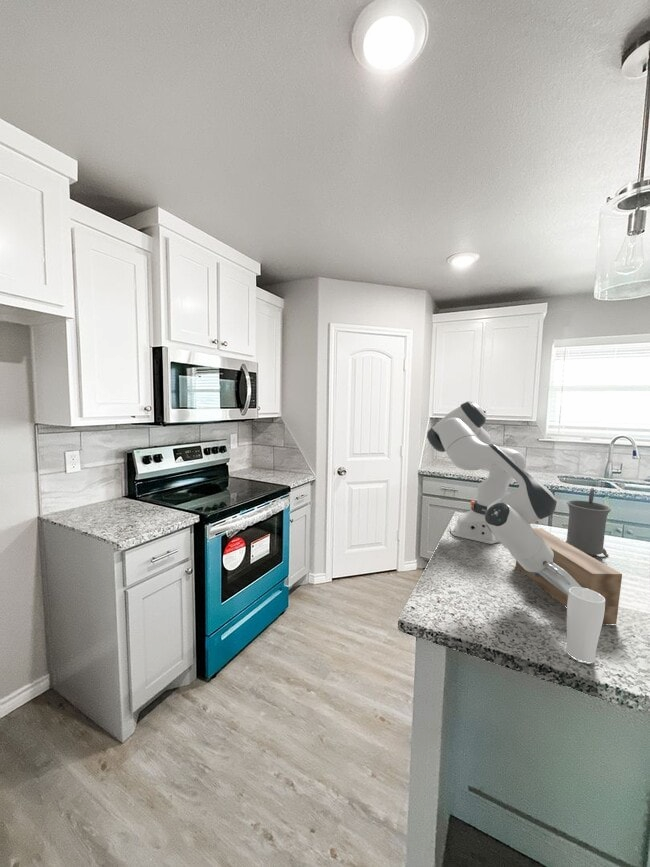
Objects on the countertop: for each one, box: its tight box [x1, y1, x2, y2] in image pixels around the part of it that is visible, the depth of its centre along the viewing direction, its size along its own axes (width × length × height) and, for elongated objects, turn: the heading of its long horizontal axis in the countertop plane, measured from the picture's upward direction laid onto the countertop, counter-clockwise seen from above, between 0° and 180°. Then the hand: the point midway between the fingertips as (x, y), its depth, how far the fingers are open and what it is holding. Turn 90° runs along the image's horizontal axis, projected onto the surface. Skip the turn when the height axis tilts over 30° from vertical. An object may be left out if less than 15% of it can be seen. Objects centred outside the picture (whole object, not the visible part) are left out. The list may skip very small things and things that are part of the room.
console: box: [515, 527, 623, 625], centre depth 110 cm, size 8×33×14 cm, turn 2°
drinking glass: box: [565, 587, 605, 662], centre depth 81 cm, size 7×7×15 cm
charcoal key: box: [528, 571, 542, 577], centre depth 110 cm, size 6×4×3 cm, turn 92°
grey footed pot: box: [565, 487, 612, 558], centre depth 140 cm, size 19×15×25 cm
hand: (565, 590), depth 98 cm, fingers closed, pressing on terracotta key
